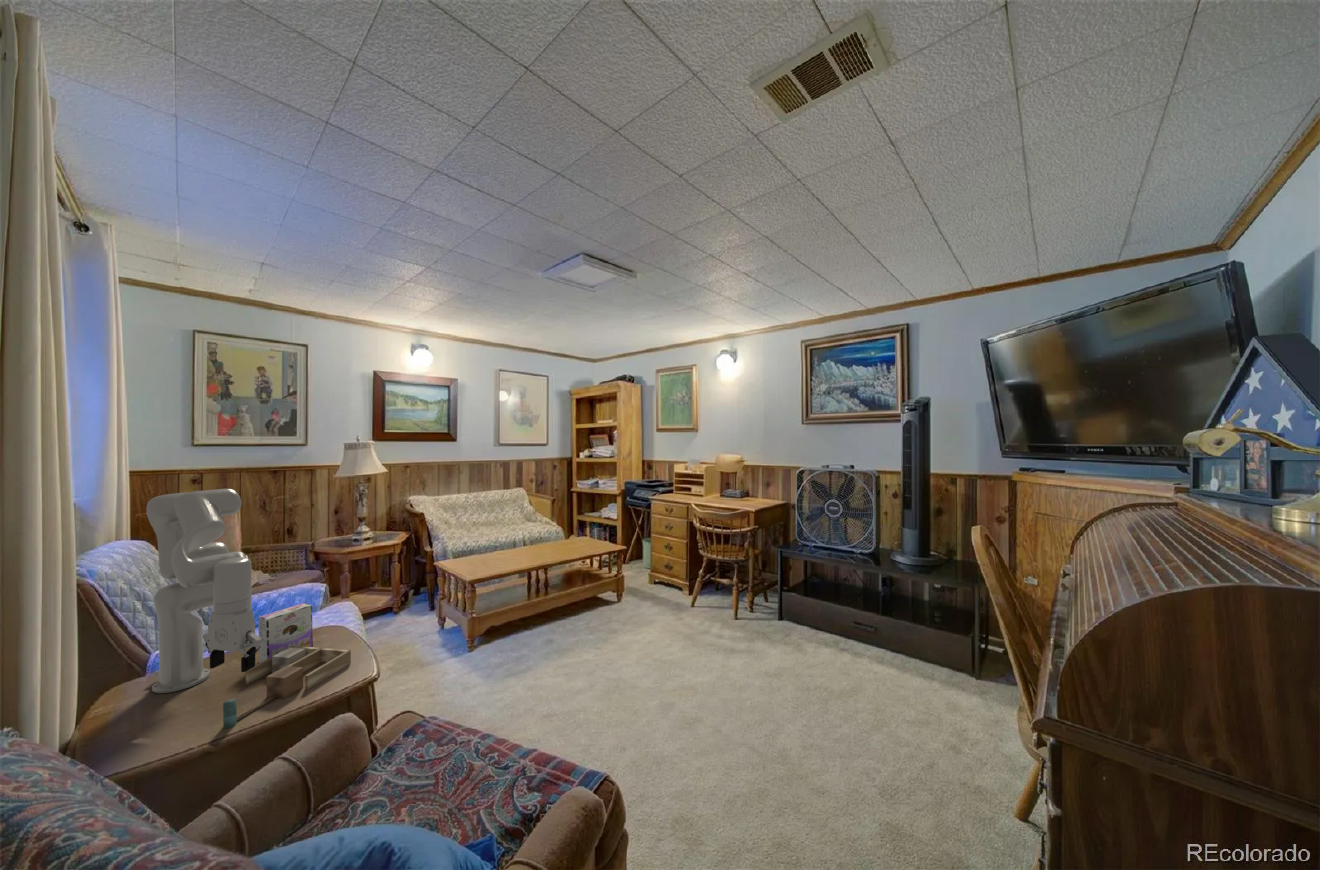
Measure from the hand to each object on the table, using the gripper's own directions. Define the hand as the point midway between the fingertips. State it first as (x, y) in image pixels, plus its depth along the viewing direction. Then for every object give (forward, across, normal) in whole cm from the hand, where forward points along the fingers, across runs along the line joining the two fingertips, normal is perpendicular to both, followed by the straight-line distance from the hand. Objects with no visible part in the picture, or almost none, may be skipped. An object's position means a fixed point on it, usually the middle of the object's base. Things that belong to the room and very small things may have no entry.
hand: (232, 667), depth 123 cm
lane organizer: (+16, -4, +24) cm, 29 cm away
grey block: (+16, -10, +25) cm, 31 cm away
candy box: (+17, -20, +34) cm, 43 cm away
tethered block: (+16, +1, +7) cm, 17 cm away
